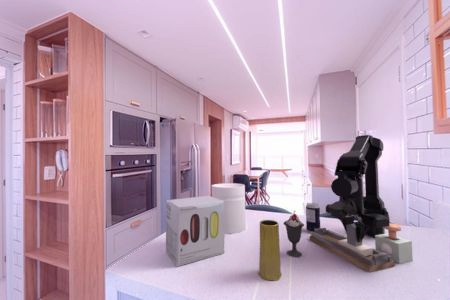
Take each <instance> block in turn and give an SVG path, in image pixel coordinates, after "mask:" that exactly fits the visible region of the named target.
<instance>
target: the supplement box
mask: <svg viewBox="0 0 450 300" xmlns="http://www.w3.org/2000/svg"><path fill="white" fill-rule="evenodd" d="M165 206H166V207H165V211H166V212H165V213H166V215H165V217H166V219H165V223H166V225H165V251H166V253H167V255H168V256H169V258H170V259H171V261H172V262H173V263H174V265H175V267H177V268H178V267H181V266H183V265H187V264H190V263H194V262H198V261H201V260H205V259H208V258H213V257H215V256H220V255H223V254H225V234H224V201H222V200H219V199H216V198H213V197H212V196H211V195H202V196H192V197H185V198H175V199H166V205H165Z"/></svg>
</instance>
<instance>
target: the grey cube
mask: <svg viewBox="0 0 450 300" xmlns="http://www.w3.org/2000/svg"><path fill="white" fill-rule="evenodd" d="M374 241H375V242H374V243H375V250H378V251H380V252H382V253H387V254H388V255H390V256H392V261H394V263H396V264H400V265H401V264H406V263H409V262H413V261H414V259H413V258H414V257H413V244H412V242H413V241H412V240H409V239H406V238H403V237H400V236H397V240H395V241H394V240H391V239H389V234H388V233H387V232H386V233H385V234H381V235H375V238H374Z"/></svg>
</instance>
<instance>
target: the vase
mask: <svg viewBox="0 0 450 300" xmlns="http://www.w3.org/2000/svg"><path fill="white" fill-rule="evenodd" d="M279 227H280V226H279V222H278V221H277V220H273V219H263V220H261V221H259V268H258V269H259V270H258V275H259V276H260V277H261V278H262V279H264V280H267V281H277V280H280V279H281V278H282V272H281V249H280V248H281V247H280V232H279V231H280V230H279V229H280V228H279Z"/></svg>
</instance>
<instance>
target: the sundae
mask: <svg viewBox="0 0 450 300" xmlns="http://www.w3.org/2000/svg"><path fill="white" fill-rule="evenodd" d="M283 225H284V226H285V228H286V235H287V240H289V242H290V243H291V244H292V246H291V247H292V248H291V249H289V250H287V251H286V254H287V255H288V256H289V257H292V258H301V257H302V256H303V253H302V252H301V251H299V250H298V249H297V244H298V243H299V242H301V237H302V236H301V235H302V230H303V227H304V226H305V224H304V223H303V222H302V221H301V220H300V217H299V216H298V215H297V214H296V210H294V212H293V213H292V215H290V216H289V218H288V220H285V221H284V222H283Z"/></svg>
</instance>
